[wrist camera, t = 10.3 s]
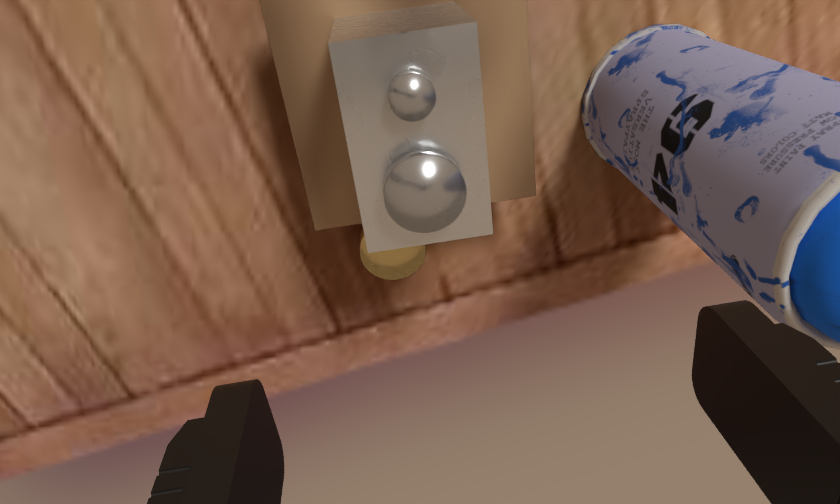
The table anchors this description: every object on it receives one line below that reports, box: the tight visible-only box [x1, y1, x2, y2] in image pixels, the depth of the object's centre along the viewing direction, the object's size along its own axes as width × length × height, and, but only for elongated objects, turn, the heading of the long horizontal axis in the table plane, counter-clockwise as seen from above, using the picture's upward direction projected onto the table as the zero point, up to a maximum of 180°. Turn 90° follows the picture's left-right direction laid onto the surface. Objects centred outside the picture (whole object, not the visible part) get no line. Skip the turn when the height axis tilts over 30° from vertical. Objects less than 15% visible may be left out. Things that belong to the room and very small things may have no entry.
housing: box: [328, 1, 493, 253], centre depth 24 cm, size 8×5×7 cm, turn 7°
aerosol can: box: [581, 24, 840, 349], centre depth 24 cm, size 8×8×20 cm
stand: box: [259, 0, 536, 231], centre depth 29 cm, size 11×11×4 cm
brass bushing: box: [360, 225, 426, 280], centre depth 34 cm, size 4×4×2 cm
